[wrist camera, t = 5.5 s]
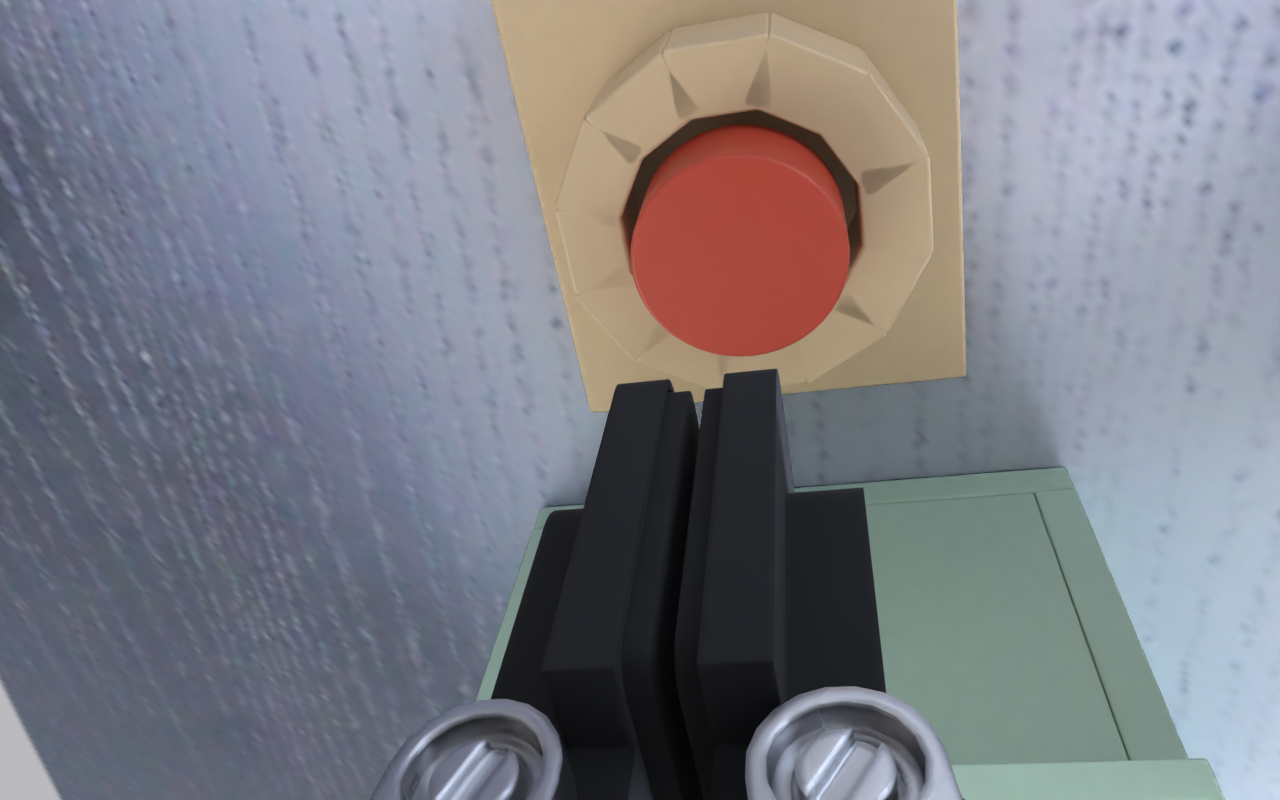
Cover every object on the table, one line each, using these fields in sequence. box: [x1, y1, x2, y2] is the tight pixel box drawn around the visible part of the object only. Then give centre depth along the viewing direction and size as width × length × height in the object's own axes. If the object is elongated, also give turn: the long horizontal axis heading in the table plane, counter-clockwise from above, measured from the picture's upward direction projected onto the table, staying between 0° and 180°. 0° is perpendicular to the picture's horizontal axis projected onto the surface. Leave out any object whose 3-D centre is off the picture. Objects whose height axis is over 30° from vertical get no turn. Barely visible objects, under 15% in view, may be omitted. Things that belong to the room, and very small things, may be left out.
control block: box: [491, 0, 967, 412], centre depth 19 cm, size 9×8×4 cm
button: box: [631, 124, 850, 357], centre depth 17 cm, size 4×4×2 cm
